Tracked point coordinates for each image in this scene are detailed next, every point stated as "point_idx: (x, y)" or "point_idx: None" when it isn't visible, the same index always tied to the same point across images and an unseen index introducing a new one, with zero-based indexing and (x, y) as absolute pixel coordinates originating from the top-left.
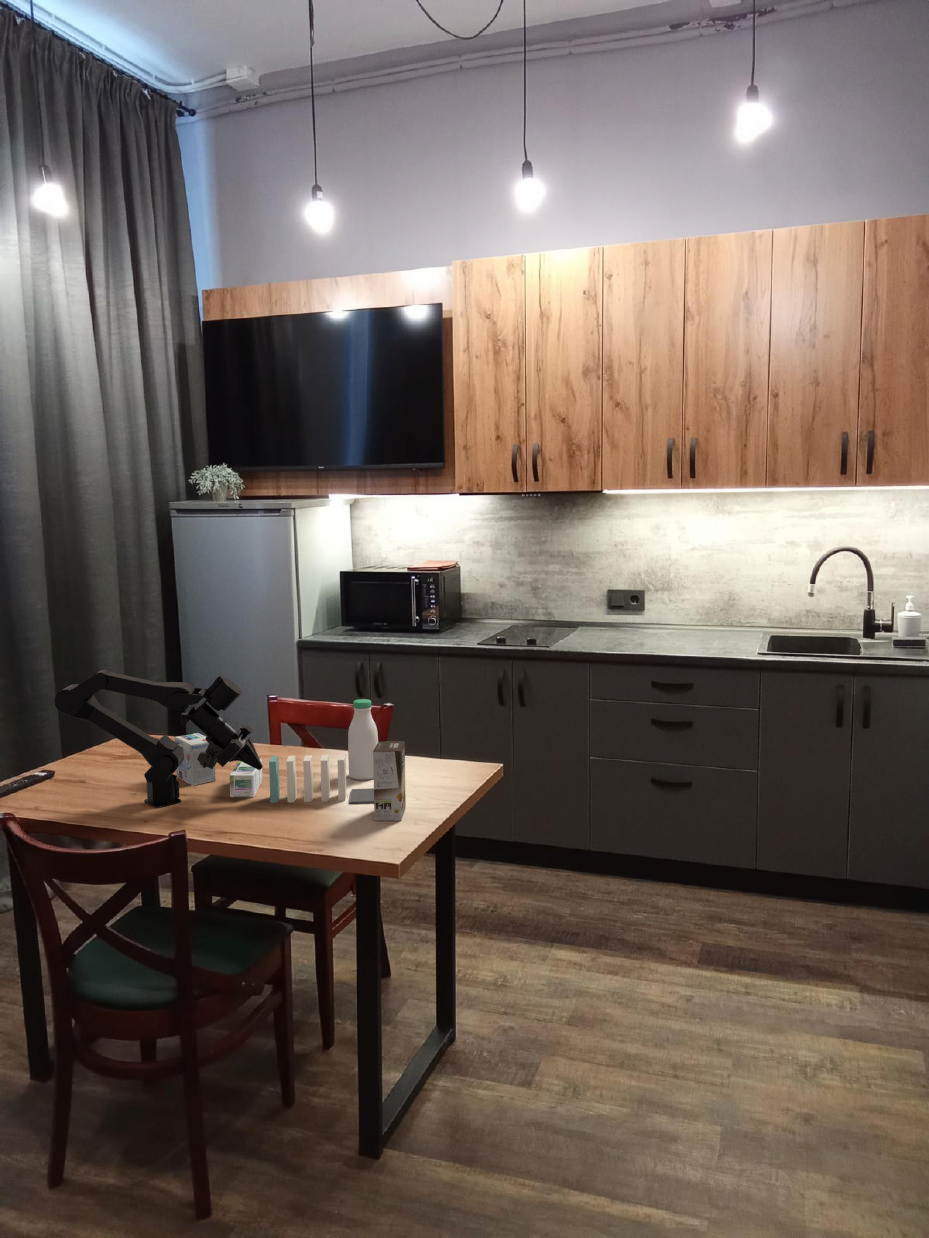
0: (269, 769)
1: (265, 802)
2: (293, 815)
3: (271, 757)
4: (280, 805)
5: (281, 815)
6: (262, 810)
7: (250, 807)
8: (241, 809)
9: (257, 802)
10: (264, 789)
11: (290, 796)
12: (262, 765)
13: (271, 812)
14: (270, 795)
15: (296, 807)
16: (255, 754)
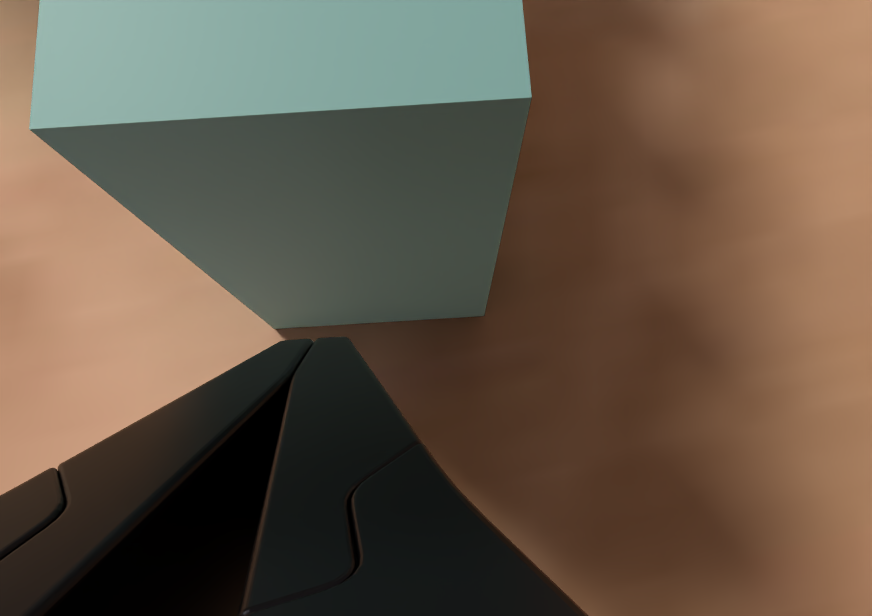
0: (513, 171)
1: (472, 367)
2: (836, 47)
3: (151, 116)
4: (565, 206)
5: (848, 145)
6: (720, 346)
7: (634, 490)
8: (703, 574)
9: (471, 450)
10: (30, 468)
11: None
12: (281, 343)
13: (773, 249)
14: (487, 294)
15: (619, 59)
16: (317, 456)
